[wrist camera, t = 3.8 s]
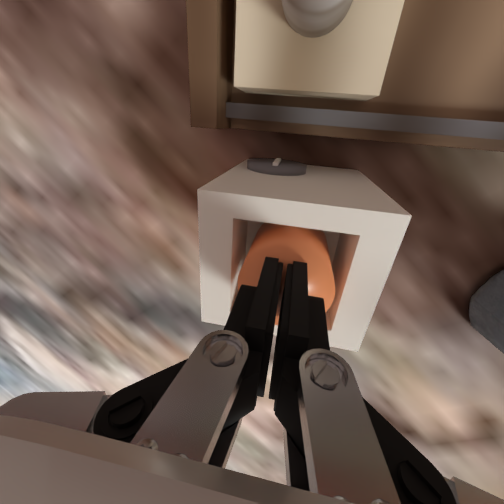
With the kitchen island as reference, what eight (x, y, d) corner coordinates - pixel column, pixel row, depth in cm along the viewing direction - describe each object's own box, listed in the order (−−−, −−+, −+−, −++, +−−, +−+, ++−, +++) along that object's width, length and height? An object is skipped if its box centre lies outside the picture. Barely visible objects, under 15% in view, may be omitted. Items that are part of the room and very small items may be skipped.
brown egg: (334, 218, 12) (346, 255, 9) (319, 283, 14) (323, 334, 11) (257, 208, 13) (239, 239, 10) (251, 272, 15) (235, 317, 11)
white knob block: (360, 161, 17) (417, 200, 8) (335, 256, 21) (357, 351, 12) (248, 150, 18) (196, 175, 10) (242, 242, 22) (201, 321, 13)
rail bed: (827, -141, 10) (1194, -327, 6) (611, 160, 15) (723, 173, 11) (216, -113, 13) (177, -219, 9) (215, 126, 18) (190, 126, 14)
